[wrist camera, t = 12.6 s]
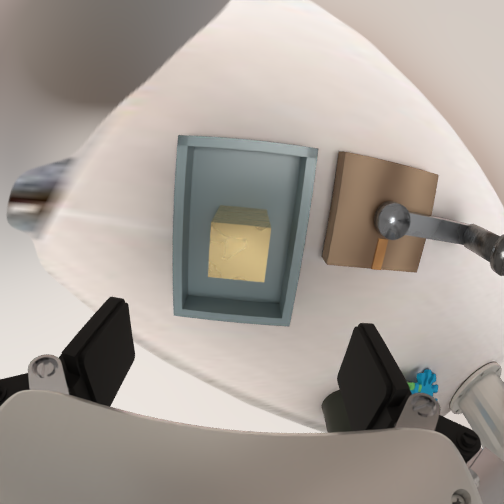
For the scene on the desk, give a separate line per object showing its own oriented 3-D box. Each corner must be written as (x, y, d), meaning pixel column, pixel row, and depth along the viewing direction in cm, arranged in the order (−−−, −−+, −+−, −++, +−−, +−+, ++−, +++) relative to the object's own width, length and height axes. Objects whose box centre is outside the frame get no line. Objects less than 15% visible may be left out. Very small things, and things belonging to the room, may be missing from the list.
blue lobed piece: (445, 391, 33) (423, 446, 28) (416, 391, 38) (391, 441, 33) (428, 351, 32) (402, 413, 26) (394, 353, 37) (365, 409, 31)
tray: (309, 148, 24) (318, 148, 20) (285, 307, 29) (289, 326, 26) (188, 137, 23) (178, 135, 20) (181, 297, 29) (173, 315, 25)
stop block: (266, 209, 25) (271, 227, 19) (261, 253, 26) (264, 282, 20) (220, 205, 25) (211, 222, 19) (217, 248, 26) (208, 276, 20)
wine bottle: (369, 392, 34) (431, 578, 6) (344, 416, 36) (387, 592, 8) (338, 384, 33) (393, 597, 5) (314, 410, 35) (347, 606, 7)
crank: (370, 235, 24) (407, 266, 17) (377, 196, 23) (419, 214, 16) (470, 250, 24) (510, 276, 18) (478, 219, 23) (521, 239, 17)
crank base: (427, 172, 24) (439, 175, 22) (407, 264, 27) (417, 273, 25) (338, 151, 24) (346, 151, 22) (321, 256, 27) (327, 265, 25)
